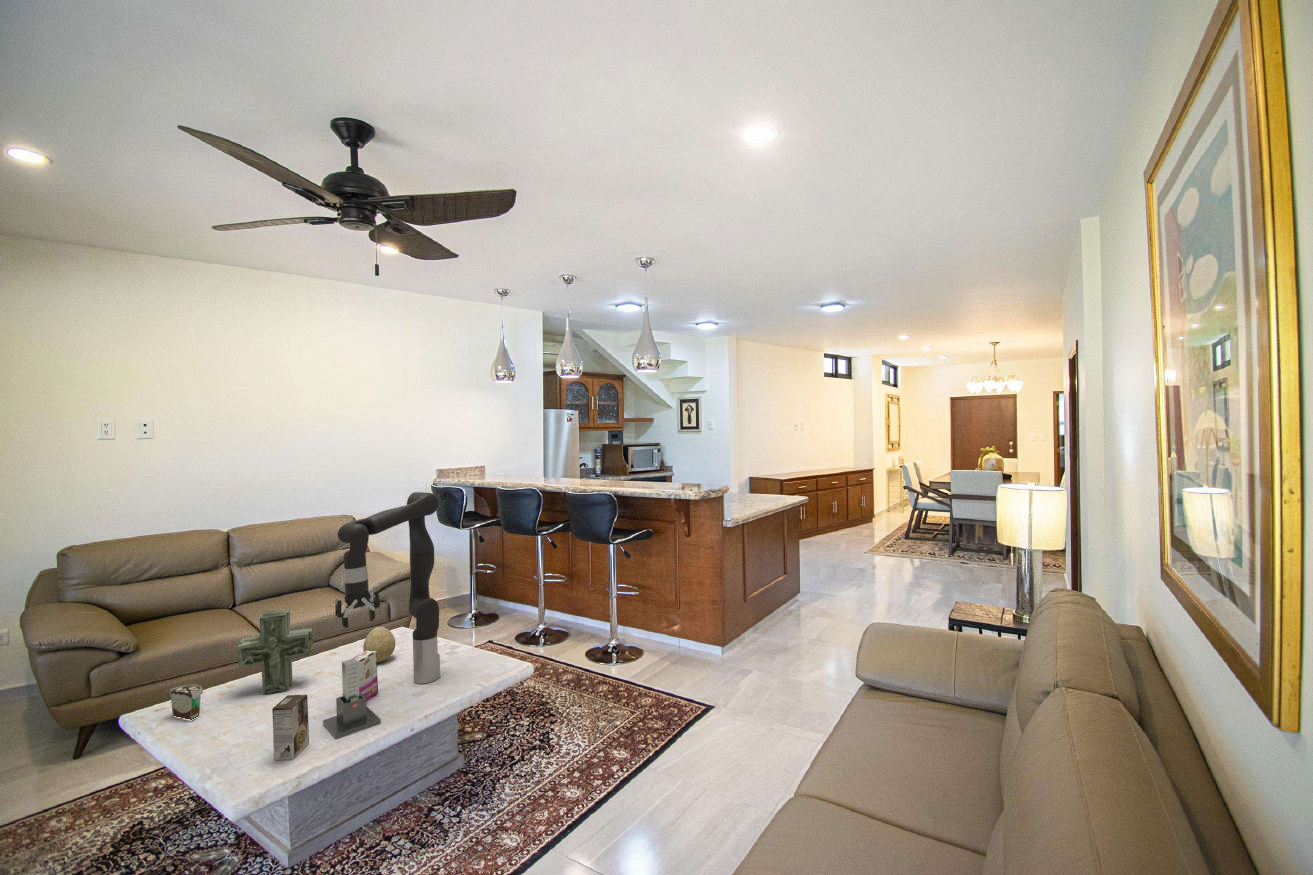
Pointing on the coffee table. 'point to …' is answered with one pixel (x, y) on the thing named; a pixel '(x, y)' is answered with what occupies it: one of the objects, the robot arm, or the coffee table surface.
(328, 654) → the coffee table surface
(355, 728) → the jack stand base
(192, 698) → the food container
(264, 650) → the religious sculpture
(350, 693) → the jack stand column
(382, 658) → the fossilized egg
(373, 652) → the candy bar box
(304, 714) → the coffee box
